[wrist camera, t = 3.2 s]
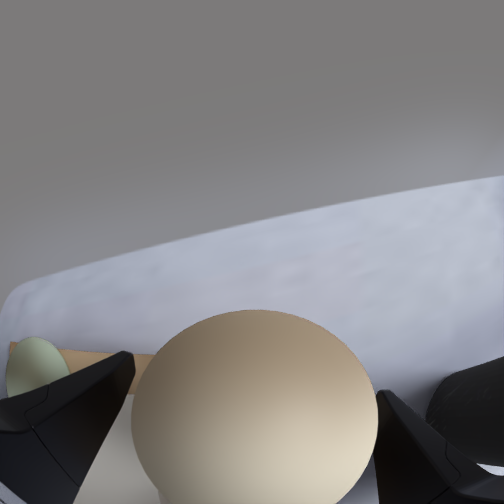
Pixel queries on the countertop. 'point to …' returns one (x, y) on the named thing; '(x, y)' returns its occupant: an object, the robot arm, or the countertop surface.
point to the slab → (119, 469)
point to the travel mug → (472, 412)
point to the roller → (254, 413)
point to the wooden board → (53, 364)
